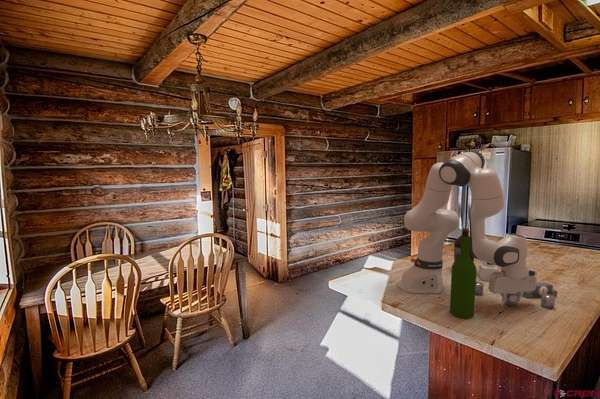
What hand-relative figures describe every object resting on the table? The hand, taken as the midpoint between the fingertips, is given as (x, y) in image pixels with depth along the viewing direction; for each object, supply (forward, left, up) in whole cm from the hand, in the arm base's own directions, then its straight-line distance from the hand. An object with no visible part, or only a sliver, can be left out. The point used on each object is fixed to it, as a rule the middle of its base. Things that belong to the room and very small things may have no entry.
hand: (510, 301), depth 138 cm
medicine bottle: (+12, +29, -2) cm, 31 cm away
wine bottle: (-26, -4, -2) cm, 26 cm away
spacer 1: (-6, +13, -2) cm, 14 cm away
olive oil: (+6, +41, -2) cm, 41 cm away
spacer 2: (0, 0, -2) cm, 2 cm away
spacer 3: (+14, -4, -2) cm, 15 cm away
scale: (+20, +13, -2) cm, 24 cm away
